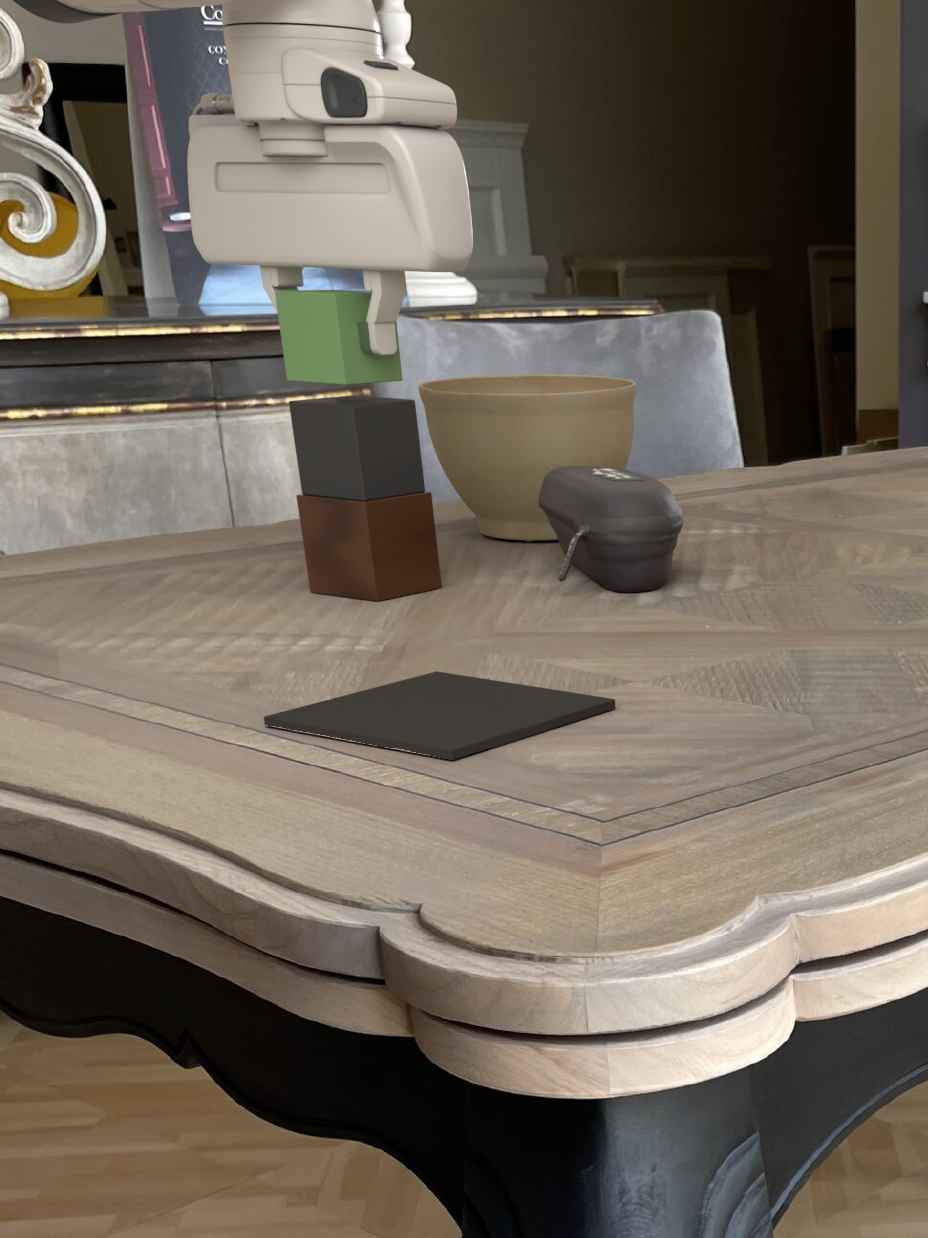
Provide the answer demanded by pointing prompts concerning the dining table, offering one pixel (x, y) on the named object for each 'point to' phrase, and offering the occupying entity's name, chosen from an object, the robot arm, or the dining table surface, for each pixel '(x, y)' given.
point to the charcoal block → (357, 447)
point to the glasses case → (613, 525)
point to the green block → (330, 338)
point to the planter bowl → (524, 439)
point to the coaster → (442, 714)
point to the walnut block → (370, 546)
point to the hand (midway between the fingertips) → (342, 352)
